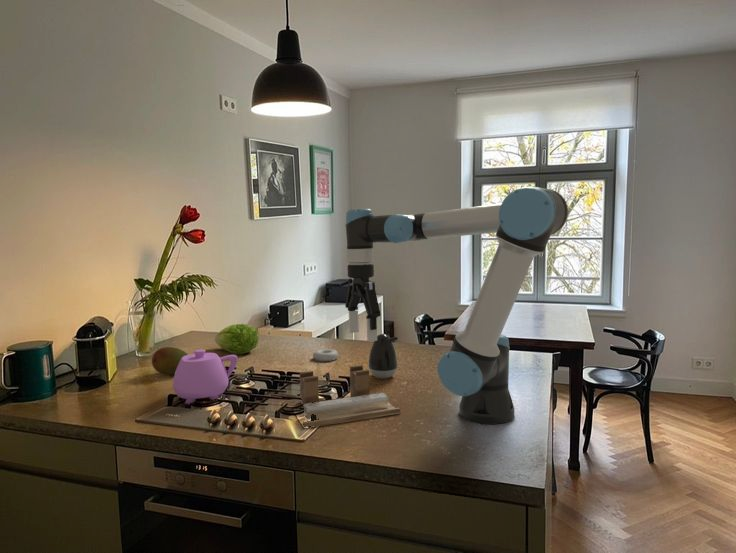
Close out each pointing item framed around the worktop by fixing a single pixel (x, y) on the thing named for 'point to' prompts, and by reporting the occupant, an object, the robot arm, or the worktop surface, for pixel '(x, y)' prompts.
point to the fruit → (167, 359)
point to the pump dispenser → (383, 357)
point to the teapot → (202, 375)
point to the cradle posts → (357, 384)
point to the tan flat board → (353, 416)
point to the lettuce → (237, 338)
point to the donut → (325, 355)
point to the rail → (346, 405)
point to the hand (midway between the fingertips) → (362, 336)
